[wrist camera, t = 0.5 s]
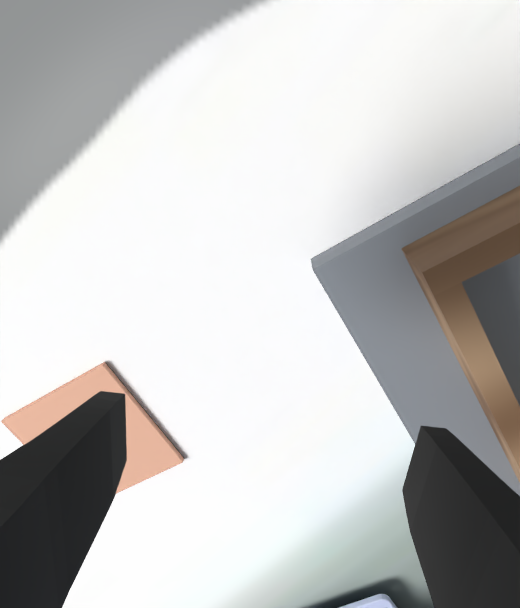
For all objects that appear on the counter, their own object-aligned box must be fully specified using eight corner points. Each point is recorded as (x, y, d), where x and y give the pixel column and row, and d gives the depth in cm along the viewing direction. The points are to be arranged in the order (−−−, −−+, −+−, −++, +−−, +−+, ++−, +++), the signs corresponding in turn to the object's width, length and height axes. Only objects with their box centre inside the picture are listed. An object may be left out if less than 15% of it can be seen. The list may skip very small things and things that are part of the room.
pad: (183, 458, 25) (182, 462, 25) (86, 503, 27) (84, 508, 26) (104, 362, 23) (102, 365, 23) (4, 417, 24) (1, 421, 24)
